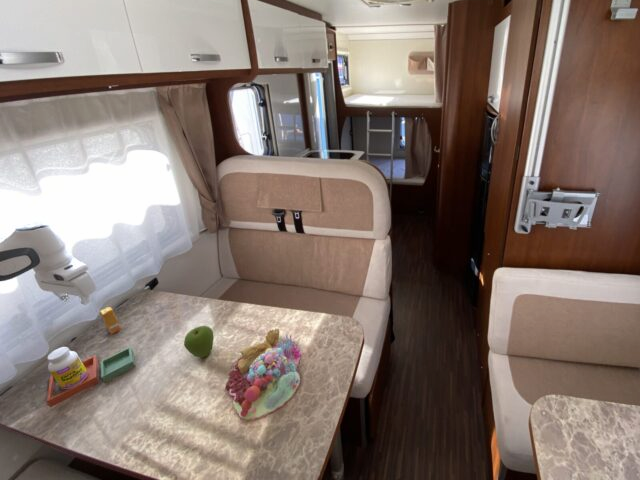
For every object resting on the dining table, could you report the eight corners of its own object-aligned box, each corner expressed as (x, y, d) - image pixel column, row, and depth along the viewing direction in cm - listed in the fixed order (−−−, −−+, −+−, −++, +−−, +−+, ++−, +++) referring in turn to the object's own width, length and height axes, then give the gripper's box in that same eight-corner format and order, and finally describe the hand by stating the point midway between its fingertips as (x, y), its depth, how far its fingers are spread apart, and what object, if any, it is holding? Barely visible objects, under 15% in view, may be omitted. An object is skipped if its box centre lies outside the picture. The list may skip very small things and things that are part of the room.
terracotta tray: (50, 407, 92) (46, 401, 91) (53, 381, 99) (50, 376, 98) (99, 382, 99) (95, 376, 98) (98, 360, 106) (95, 355, 105)
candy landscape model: (216, 375, 99) (209, 356, 95) (282, 332, 114) (278, 314, 110) (248, 435, 82) (240, 413, 79) (320, 375, 98) (316, 355, 94)
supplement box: (122, 328, 119) (112, 309, 115) (111, 334, 117) (101, 315, 113) (119, 325, 121) (109, 305, 117) (108, 331, 118) (98, 311, 114)
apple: (218, 340, 112) (210, 317, 108) (218, 358, 105) (209, 334, 100) (192, 350, 109) (182, 326, 104) (189, 369, 102) (179, 344, 97)
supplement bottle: (65, 394, 95) (45, 366, 90) (58, 384, 98) (39, 356, 93) (92, 377, 100) (75, 349, 95) (85, 367, 103) (68, 340, 98)
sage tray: (104, 382, 98) (101, 377, 97) (103, 366, 104) (100, 361, 103) (135, 366, 103) (132, 361, 102) (133, 351, 109) (130, 346, 108)
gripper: (21, 271, 96) (42, 304, 102) (68, 277, 92) (88, 312, 97) (45, 259, 102) (64, 291, 108) (91, 265, 98) (108, 298, 103)
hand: (75, 301), depth 102 cm, fingers open, 8 cm apart
